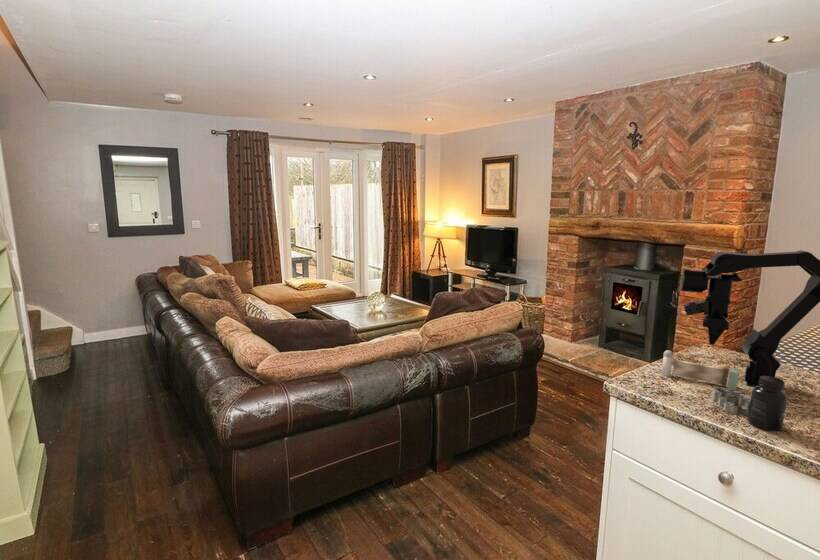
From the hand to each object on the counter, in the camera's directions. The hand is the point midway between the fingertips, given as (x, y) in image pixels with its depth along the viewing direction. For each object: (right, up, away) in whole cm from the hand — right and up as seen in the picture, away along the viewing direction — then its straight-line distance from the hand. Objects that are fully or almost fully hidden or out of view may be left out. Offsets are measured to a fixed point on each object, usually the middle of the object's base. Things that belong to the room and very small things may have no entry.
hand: (711, 344), depth 140 cm
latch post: (+2, -12, -5) cm, 13 cm away
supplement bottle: (-5, -16, -27) cm, 32 cm away
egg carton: (-6, -15, -17) cm, 23 cm away
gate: (-5, -10, -1) cm, 11 cm away
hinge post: (-12, -10, +4) cm, 16 cm away
